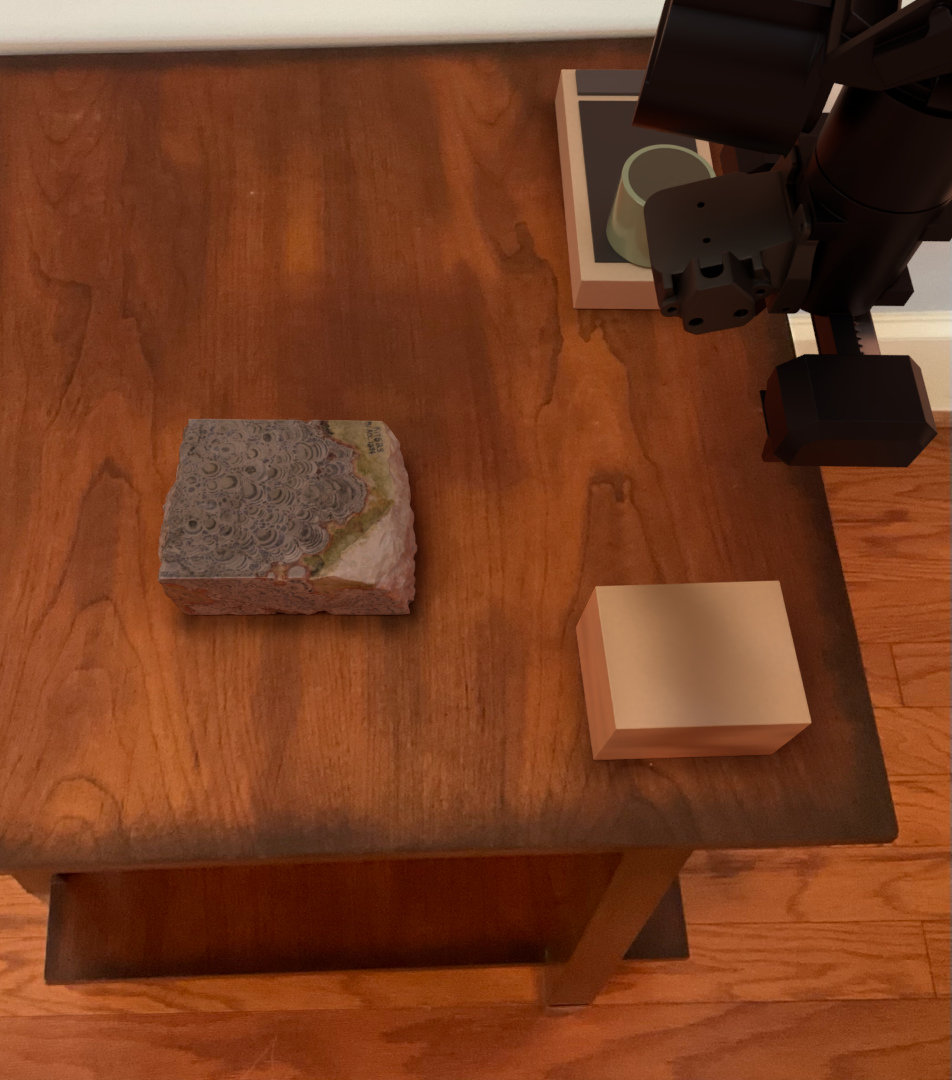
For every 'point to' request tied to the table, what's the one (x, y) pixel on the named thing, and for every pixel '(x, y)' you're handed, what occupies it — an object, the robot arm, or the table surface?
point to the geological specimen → (288, 519)
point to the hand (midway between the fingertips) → (758, 384)
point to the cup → (648, 194)
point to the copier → (603, 182)
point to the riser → (689, 670)
